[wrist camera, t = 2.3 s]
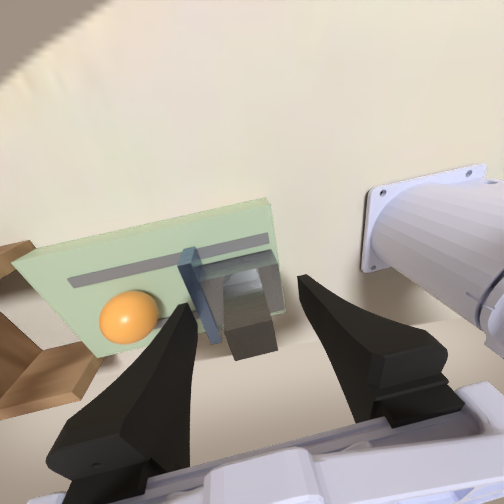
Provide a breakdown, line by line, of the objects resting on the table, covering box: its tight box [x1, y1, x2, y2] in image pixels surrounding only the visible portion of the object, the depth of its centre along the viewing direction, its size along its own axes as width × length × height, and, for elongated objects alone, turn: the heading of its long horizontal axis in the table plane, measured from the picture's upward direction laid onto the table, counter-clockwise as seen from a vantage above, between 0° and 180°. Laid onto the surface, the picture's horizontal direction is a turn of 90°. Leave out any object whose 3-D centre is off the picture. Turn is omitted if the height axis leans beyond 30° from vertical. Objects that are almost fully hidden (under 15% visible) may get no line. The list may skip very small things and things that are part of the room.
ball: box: [99, 291, 159, 345], centre depth 14 cm, size 4×4×4 cm
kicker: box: [177, 246, 285, 361], centre depth 13 cm, size 6×7×6 cm
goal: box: [0, 240, 105, 420], centre depth 15 cm, size 7×11×5 cm, turn 11°
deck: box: [11, 198, 286, 358], centre depth 16 cm, size 17×10×2 cm, turn 101°
